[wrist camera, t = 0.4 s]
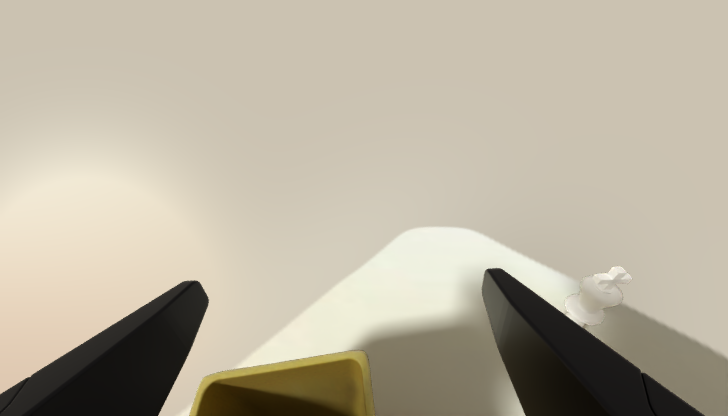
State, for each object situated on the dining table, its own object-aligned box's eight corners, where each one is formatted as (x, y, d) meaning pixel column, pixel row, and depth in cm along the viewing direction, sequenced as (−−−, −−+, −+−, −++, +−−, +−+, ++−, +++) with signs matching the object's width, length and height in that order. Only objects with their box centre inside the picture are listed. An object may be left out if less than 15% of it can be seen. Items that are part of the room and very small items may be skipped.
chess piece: (508, 314, 23) (550, 238, 17) (567, 312, 23) (633, 234, 16) (535, 378, 19) (602, 314, 13) (606, 377, 19) (712, 310, 12)
